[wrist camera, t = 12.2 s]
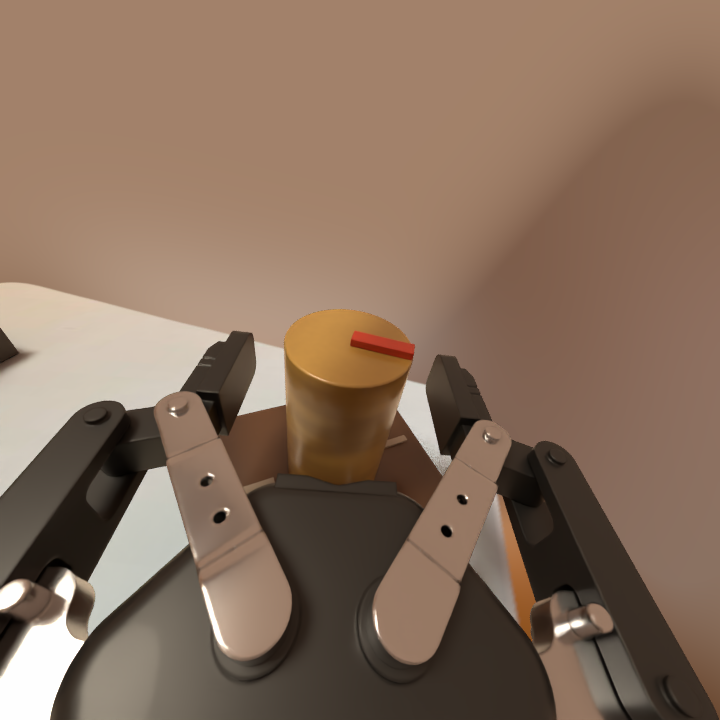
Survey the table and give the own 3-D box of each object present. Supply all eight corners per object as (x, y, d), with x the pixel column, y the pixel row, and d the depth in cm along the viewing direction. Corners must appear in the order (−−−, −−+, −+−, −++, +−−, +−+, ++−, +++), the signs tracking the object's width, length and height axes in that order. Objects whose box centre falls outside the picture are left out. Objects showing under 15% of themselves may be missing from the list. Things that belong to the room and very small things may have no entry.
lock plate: (248, 638, 11) (239, 623, 10) (223, 447, 17) (215, 418, 16) (449, 532, 15) (468, 509, 14) (373, 407, 21) (379, 380, 20)
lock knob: (272, 491, 13) (258, 357, 8) (306, 418, 17) (311, 292, 12) (367, 519, 13) (410, 395, 8) (382, 438, 16) (419, 316, 11)
